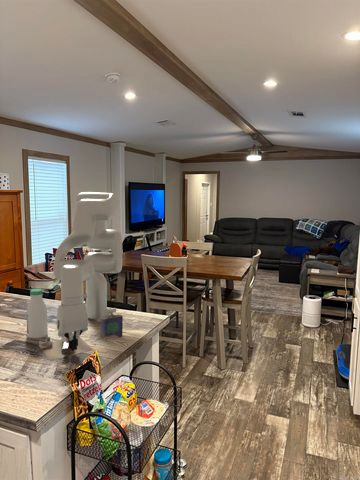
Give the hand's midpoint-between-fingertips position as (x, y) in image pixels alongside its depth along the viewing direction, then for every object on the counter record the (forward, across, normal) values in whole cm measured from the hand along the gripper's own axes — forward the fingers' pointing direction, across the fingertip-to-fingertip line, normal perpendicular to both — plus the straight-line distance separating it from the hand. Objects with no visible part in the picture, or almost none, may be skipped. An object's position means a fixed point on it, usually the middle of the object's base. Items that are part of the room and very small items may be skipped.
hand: (73, 348), depth 128 cm
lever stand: (+4, 0, -7) cm, 8 cm away
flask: (+4, -20, -9) cm, 22 cm away
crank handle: (+2, +1, -3) cm, 4 cm away
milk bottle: (+4, +5, -25) cm, 26 cm away
